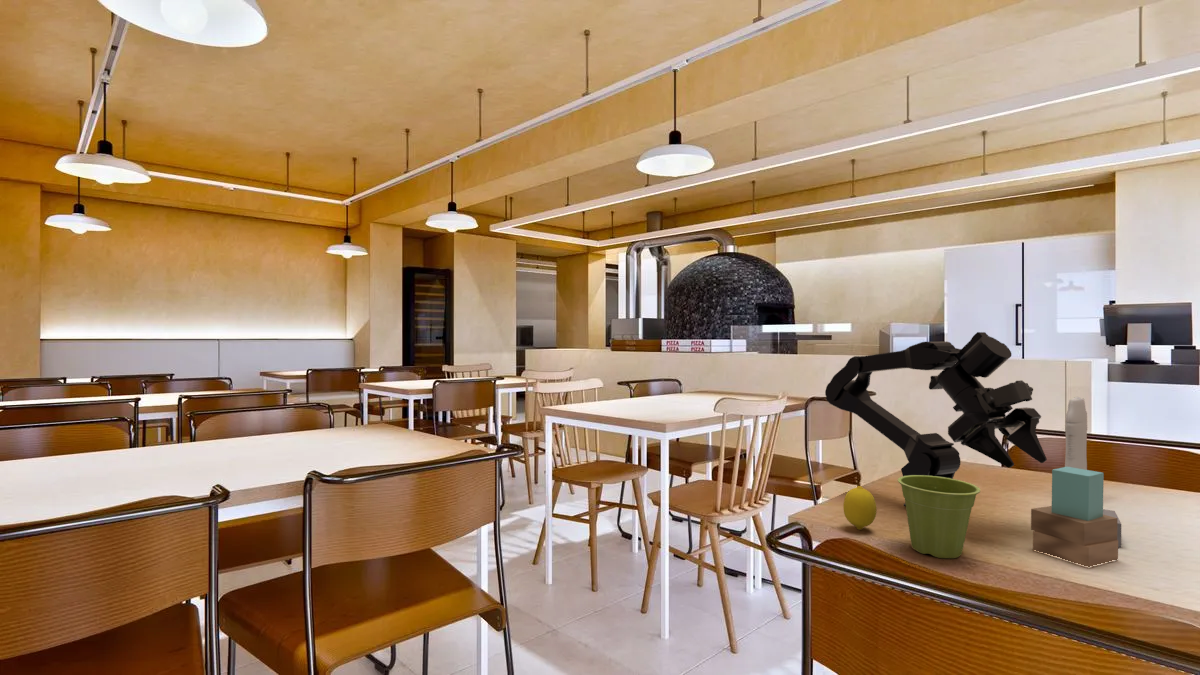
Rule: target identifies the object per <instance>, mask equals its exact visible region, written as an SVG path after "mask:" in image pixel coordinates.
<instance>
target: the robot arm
mask: <svg viewBox="0 0 1200 675" xmlns="http://www.w3.org/2000/svg"><path fill="white" fill-rule="evenodd" d="M1011 357H1012V351H1011V350H1010V348H1009V347H1008V345H1006V344H1005V343H1002V342H1001V341H999V340H998V339H996V338H995V337H992V336H989V335H988V334H987V333H986V331H985V332H984V331H983V332H982V331H981V332H979V331H978V332H976V333H975V334H974V335H973V336H972V337H971V338H970V340H969V341H968V342H967V343H966V344H965V345H964V346H962V348H957V347H955V345H954V344H953V343H951V342H950V341H922V342H919V343H915V344H912V345H910V346H909V347H907V348H905V349H903V350H899V351H897V350H896V351H891V352H883V353H878V354H868V355H860V356H859V355H858V356H857V355H856V356H855V355H854V356H852V357H850V358H849V359H848V360H847V362H846V364H845V365H844V366H843V368H841V369H840V370H839V371H838V372H836V373H835V374H834V375H833V376H832V378H831V379H830V382H829V383H827V385H826V387H825V394H824V395H825V399H826V401H827V403H829V405H831V406H834V407H836V409H837V408H838V409H839V410H842V411H845V412H849V413H851V414H854V415H857V417H859V418H860V419H862V420H863V421H864V422H866V423H867V424H868V425H869V426H871V428H873V429H875V430H876V431H877V432H879V433H880V434H881V435H883V436H884V437H886V438H887V439H888V440H889V441H891V442H892V443H893V444H895V445H896V446H898V448H900V449H901V450H902V451H903V453H904V455H905V457H906V459H907V461H908V462H907V463H906V464H905V465H904V466H902V468H900V470H901V473H902V474H901V475H902V476H909V475H924V476H925V475H927V476H938V477H945V478H951V479H954V476H955V473H956V472H958V470H959V469H960V466H961V456H960V451H958V449H956V448H955V447H954V445H955V444H954V443H960V445H962V446H965V447H968V448H970V449H972V450H975V451H976V452H978V453H980V454H982V455H983V456H986V457H988V458H990V459H991V460H994V461H995V462H997V463H998V464H1000V465H1003V466H1005V467H1006V468H1009V469H1010V468H1012V467H1013V466H1014V465H1015V463H1014V461H1013V459H1012V457H1011V456H1010V454H1009V453H1008V452H1007V451H1006V449H1005V448H1004V446H1003V445H1002V443H1001V441H1000V440H999V439H998V438H997V436H996V431H995V430H996V429H997V430H999V432H1000V433H1001V434H1002V435H1004V436H1006V438H1005V439H1006V440H1007V441H1008V442H1010V443H1011V444H1013V445H1014V446H1016V447H1017V448H1019V449H1020V450H1021V451H1023V452H1024V453H1025V454H1027V455H1028V456H1030V457H1032V458H1033V459H1034V460H1036V461H1038V462H1039V463H1040V464H1043V463H1045V462H1047V457H1046V454H1045V452H1044V449H1043V447H1042V445H1041V442H1040V440H1039V438H1038V435H1037V434H1038V433H1037V432H1036V431H1037V426H1038V424H1039V423H1040V419H1042V415H1041V414H1040V413H1039V412H1038V411H1037V410H1036V409H1035V408H1034V407H1017V408H1014V407H1012V406H1014V405H1016V404H1020V403H1023V402H1030V401H1033V398H1032V395H1033V391H1034V387H1031V386H1030V385H1029V384H1028V382H1025V381H1023V380H1016V381H1015V382H1009V383H1008V384H1004V385H1002V386H999V387H996V388H993V387H985V386H984V385H983V384H982V383H981V382H980V381H979V379H978V378H980V377H981V378H984V379H985V378H988V377H990V376H991V375H992V374H993V373H994V372H996V370H998V368H1000V367H1001V366H1003V364H1004V363H1006V361H1008V360H1009V359H1010V358H1011ZM900 369H901V370H903V369H911V370H920V371H941V372H940V373H938V374H937V375H931V376H930V381H929V384H928V389H929V390H932V391H933V390H944V392H945V393H946V394H947V395H948V396H949V398H950V399H951V400H952V401H953V403H954V404H955V405H953V407H952V409H953V410H954V411H955V412H956V413H957V412H962V414H961V415H960V416H959V417H957V418H956V419H955V420H954V421H953V422H952V423H951V424H949V426H947V434H948V436H949V437H950V439H951V440H952V441H953V442H950V441H947V440H946V439H945V438H944V437H943V436H942V435H941V434H939V433H937V432H933V433H922V434H921V433H920V432H918V431H917V430H915V429H914V428H913V427H911V426H910V425H908V424H907V423H906V422H904V421H903V420H901V419H900V418H898V417H897V416H895V415H894V414H892V413H891V412H890V411H889V410H886V409H885V407H883V406H881V405H880V404H878V403H877V402H876V401H874V400H873V399H872V398H871V396H870V393H869V390H868V388H869V386H870V384H871V375H872V374H873V372H874V373H875V372H883V371H893V370H900ZM1013 408H1014V409H1013ZM1006 413H1007V415H1006ZM903 507H905V508H906V503H903Z"/></svg>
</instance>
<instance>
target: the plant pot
mask: <svg viewBox="0 0 1200 675" xmlns="http://www.w3.org/2000/svg"><path fill="white" fill-rule="evenodd" d="M897 482H898V484H900V486H901V489H902V490H901V491H902V496H903V498H904V502H905V503H906V507H905V510H906V517H907V522H908V530H909V536H910V544H911V547H912V549H913V550H914V551H917V552H919V553H920V554H924V555H926V554H929V555H931V556H933V557H935V558H938V559H956V558H959V557H960V556H961V555H962V554H963V550H964V549H963V548H964V544H965V540H966V536H967V531H968V527H969V522H970V518H971V513H972V509H973V507H974V505H975V502H976V498H977V497H976V496H977V495H979V494H980V493H981V488H979V486H977V485H975V484H973V483H970V482H967V481H964V480H959V479H955V478H953V479H951V478H945V477H938V476H927V475H925V476H924V475H909V476H903V475H902V476H900V477H898V478H897Z"/></svg>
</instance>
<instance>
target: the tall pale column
mask: <svg viewBox="0 0 1200 675" xmlns="http://www.w3.org/2000/svg"><path fill="white" fill-rule="evenodd" d="M1064 427H1065V428H1064V430H1065V458H1064V459H1065V460H1064V461H1065V462H1064V467H1073V468H1078V469H1084V470H1088V461H1087V444H1088V443H1087V436H1088V433H1087V432H1088V411H1087V408H1086V402H1085V399H1084V398H1081V397H1079V396H1075V397H1073V398H1071V399H1069V400H1068V405H1067V410H1066V413H1065V425H1064Z"/></svg>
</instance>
